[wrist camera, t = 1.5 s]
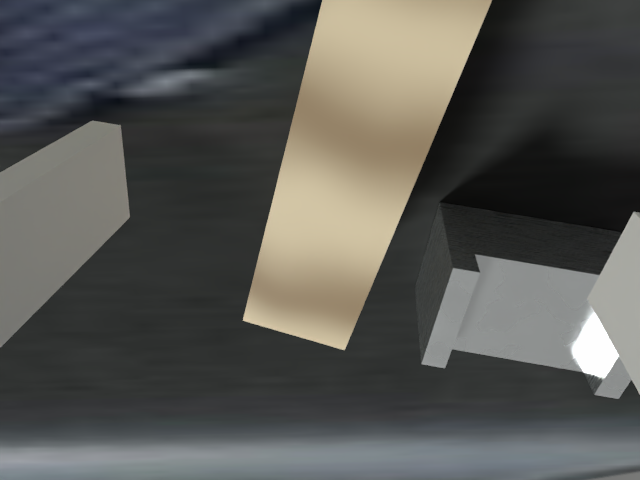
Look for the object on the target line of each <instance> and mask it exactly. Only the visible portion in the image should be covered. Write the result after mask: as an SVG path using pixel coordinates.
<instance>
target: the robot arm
mask: <svg viewBox="0 0 640 480" xmlns="http://www.w3.org/2000/svg"><path fill="white" fill-rule="evenodd" d="M129 218H130V214H129V204H128V194H127V184H126V174H125V164H124V154H123V144H122V134H121V125H115V124H109V123H103V122H97V121H91V122H89V123H87V124H86V125H84V126H82V127H80V128H79V129H77V130H75V131H73V132H71V133H70V134H68V135H66V136H64V137H63V138H61V139H59V140H57V141H55V142H54V143H52V144H50V145H48V146H47V147H45V148H43V149H41V150H39V151H38V152H36V153H34V154H32V155H31V156H29V157H27V158H25V159H23V160H22V161H20V162H18V163H16V164H15V165H13V166H11V167H9V168H7V169H6V170H4V171H2V172H0V347H1V346H2V345H3V344H4V343H5V342H6V341H7V340H8V339H9V338H10V337H11V336H12V335H13V334H14V333H15V332H16V331H17V330H18V329H19V328H20V327H21V326H22V325H23V324H24V323H25V322H26V321H27V320H28V319H29V318H30V317H31V316H32V315H33V314H34V313H35V312H36V311H37V310H38V309H39V308H40V307H41V306H42V305H43V304H44V303H45V302H46V301H47V300H48V299H49V298H50V297H51V296H52V295H53V294H54V293H55V292H56V291H57V290H58V289H59V288H60V287H61V286H62V285H63V284H64V283H65V282H66V281H67V280H68V279H69V278H70V277H71V276H72V275H73V274H74V273H75V272H76V271H77V270H78V269H79V268H80V267H81V266H82V265H83V264H84V263H85V262H86V261H87V260H88V259H89V258H90V257H91V256H92V255H93V254H94V253H95V252H96V251H97V250H98V249H99V248H100V247H101V246H102V245H103V244H104V243H105V242H106V241H107V240H108V239H109V238H110V237H111V236H112V235H113V234H114V233H115V232H116V231H117V230H118V229H119V228H120V227H121V226H122V225H123V224H124V223H125V222H126V221H127V220H128V219H129ZM587 299H588V301H589V303H590V305H591V306H592V308H593V310H594V312H595V314H596V315H597V317H598V319H599V321H600V323H601V325H602V326H603V328H604V330H605V332H606V334H607V336H608V337H609V339H610V341H611V343H612V345H613V346H614V348H615V350H616V352H617V354H618V356H619V357H620V359H621V361H622V363H623V365H624V366H625V368H626V370H627V372H628V374H629V376H630V377H631V379H632V381H633V383H634V385H635V387H636V388H637V390H638V392H639V394H640V213H639V212H633V214H632V216H631V218H630V219H629V221H628V223H627V225H626V227H625V229H624V231H623V233H622V234H621V236H620V238H619V240H618V242H617V244H616V246H615V248H614V249H613V251H612V253H611V255H610V257H609V259H608V261H607V262H606V264H605V266H604V268H603V270H602V272H601V274H600V276H599V277H598V279H597V281H596V283H595V285H594V287H593V289H592V291H591V292H590V294H589V296H588V298H587Z"/></svg>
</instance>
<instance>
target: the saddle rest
mask: <svg viewBox="0 0 640 480" xmlns="http://www.w3.org/2000/svg"><path fill="white" fill-rule="evenodd" d="M620 236H621V233H620V232H618V231H612V230H606V229H600V228H594V227H588V226H582V225H576V224H570V223H563V222H557V221H551V220H545V219H539V218H533V217H527V216H521V215H515V214H509V213H502V212H496V211H490V210H484V209H478V208H472V207H466V206H460V205H454V204H448V203H442V202H439V206H438V209H437V213H436V216H435V220H434V223H433V226H432V230H431V233H430V237H429V240H428V244H427V247H426V251H425V254H424V258H423V261H422V265H421V268H420V272H419V275H418V279H417V282H416V286H415V292H416V305H417V317H418V329H419V341H420V354H421V364H424V365H430V366H435V367H441V368H445V367H446V364H447V361H448V358H449V356H450V353H451V350H452V349H454V350H460V351H466V352H472V353H477V354H483V355H489V356H494V357H500V358H506V359H511V360H517V361H523V362H529V363H534V364H540V365H546V366H551V367H557V368H563V369H568V370H574V371H580V372H584V374H585V376H586V378H587V380H588V382H589V384H590V387H591V389H592V391H593V393H594V395H599V396H605V397H610V398H616V399H619V397H620V396H621V394H622V393H623V391H624V390H625V388H626V387H627V385H628V384H629V382H630V381H631V377H630V376H629V374H628V372H627V370H626V368H625V366H624V365H623V363H622V361H621V359H620V357H619V356H618V354H617V352H616V350H615V348H614V346H613V345H612V343H611V341H610V339H609V337H608V336H607V334H606V332H605V330H604V328H603V326H602V325H601V323H600V321H599V319H598V317H597V315H596V314H595V312H594V310H593V308H592V306H591V305H590V303H589V301H588V299H587V298H588V296H589V294H590V292H591V291H592V289H593V287H594V285H595V283H596V281H597V279H598V277H599V276H600V274H601V272H602V270H603V268H604V266H605V264H606V262H607V261H608V259H609V257H610V255H611V253H612V251H613V249H614V248H615V246H616V244H617V242H618V240H619V238H620Z"/></svg>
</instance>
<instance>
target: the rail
mask: <svg viewBox="0 0 640 480" xmlns="http://www.w3.org/2000/svg"><path fill="white" fill-rule="evenodd" d="M491 2H492V0H322V4H321V8H320V12H319V16H318V20H317V24H316V28H315V32H314V36H313V40H312V44H311V48H310V52H309V56H308V60H307V64H306V68H305V72H304V76H303V80H302V85H301V89H300V93H299V97H298V101H297V105H296V109H295V113H294V117H293V121H292V125H291V129H290V133H289V137H288V141H287V145H286V149H285V153H284V157H283V161H282V165H281V169H280V173H279V177H278V181H277V185H276V189H275V193H274V197H273V201H272V205H271V209H270V213H269V217H268V221H267V225H266V229H265V233H264V237H263V241H262V245H261V249H260V253H259V257H258V262H257V266H256V270H255V274H254V278H253V282H252V286H251V290H250V294H249V298H248V302H247V306H246V310H245V314H244V318H243V321H246V322H249V323H253V324H256V325H260V326H263V327H267V328H270V329H273V330H277V331H280V332H284V333H287V334H291V335H294V336H298V337H301V338H304V339H308V340H311V341H315V342H318V343H322V344H325V345H328V346H332V347H335V348H339V349H342V350H345V348H346V345H347V343H348V341H349V338H350V336H351V334H352V331H353V329H354V326H355V324H356V322H357V319H358V317H359V315H360V312H361V310H362V308H363V305H364V303H365V300H366V298H367V296H368V293H369V291H370V289H371V286H372V284H373V281H374V279H375V277H376V274H377V272H378V270H379V267H380V265H381V262H382V260H383V258H384V255H385V253H386V251H387V248H388V246H389V244H390V241H391V239H392V236H393V234H394V232H395V229H396V227H397V225H398V222H399V220H400V217H401V215H402V213H403V210H404V208H405V206H406V203H407V201H408V198H409V196H410V194H411V191H412V189H413V187H414V184H415V182H416V180H417V177H418V175H419V172H420V170H421V168H422V165H423V163H424V161H425V158H426V156H427V153H428V151H429V149H430V146H431V144H432V142H433V139H434V137H435V134H436V132H437V130H438V127H439V125H440V123H441V120H442V118H443V116H444V113H445V111H446V108H447V106H448V104H449V101H450V99H451V97H452V94H453V92H454V89H455V87H456V85H457V82H458V80H459V78H460V75H461V73H462V70H463V68H464V66H465V63H466V61H467V59H468V56H469V54H470V52H471V49H472V47H473V44H474V42H475V40H476V37H477V35H478V33H479V30H480V28H481V25H482V23H483V21H484V18H485V16H486V14H487V11H488V9H489V6H490V4H491Z"/></svg>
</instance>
